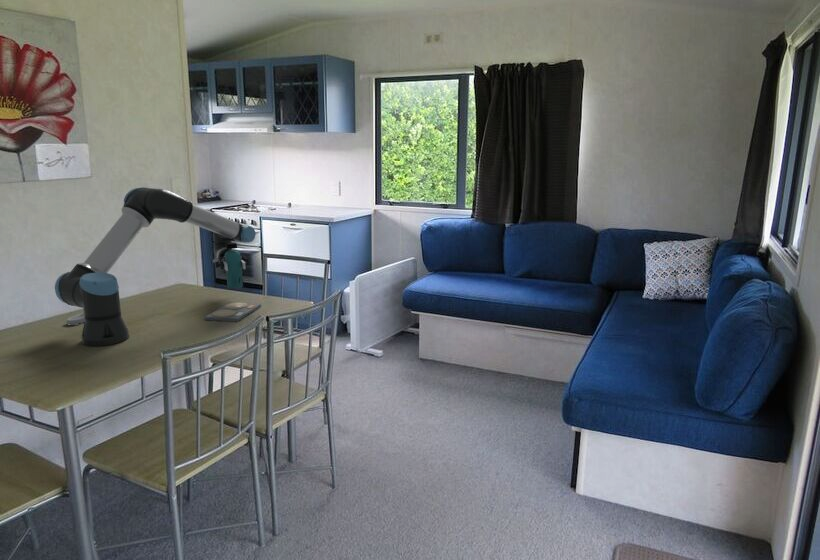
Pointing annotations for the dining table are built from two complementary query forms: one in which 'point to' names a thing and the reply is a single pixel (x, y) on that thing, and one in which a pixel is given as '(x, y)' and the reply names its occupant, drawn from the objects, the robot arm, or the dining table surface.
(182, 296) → the dining table surface
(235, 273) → the beverage bottle
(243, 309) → the dark grey flat block
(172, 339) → the dining table surface
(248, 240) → the robot arm
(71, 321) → the electronic device
